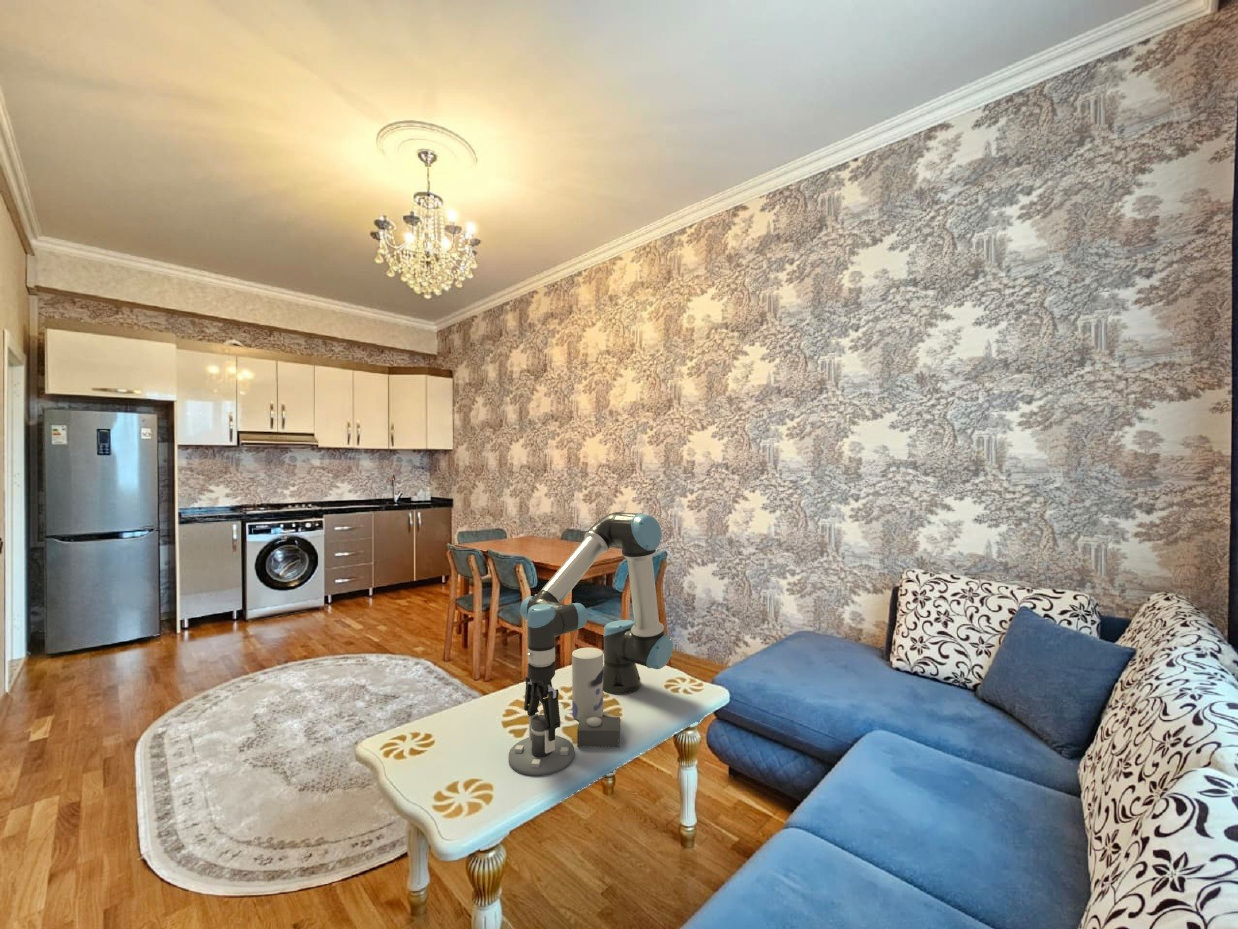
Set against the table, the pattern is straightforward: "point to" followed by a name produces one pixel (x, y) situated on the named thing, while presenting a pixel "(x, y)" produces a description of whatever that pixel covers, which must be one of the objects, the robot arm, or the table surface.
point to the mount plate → (536, 766)
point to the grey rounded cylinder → (538, 736)
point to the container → (587, 683)
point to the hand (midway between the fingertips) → (541, 744)
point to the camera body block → (598, 732)
